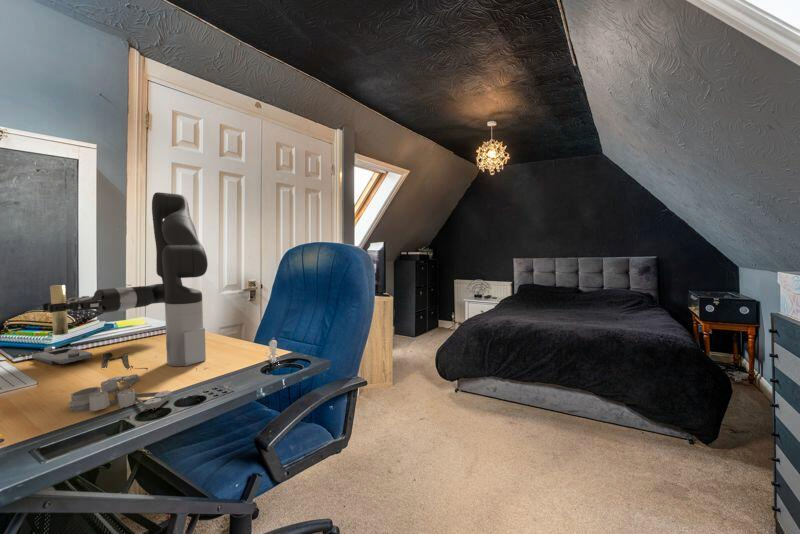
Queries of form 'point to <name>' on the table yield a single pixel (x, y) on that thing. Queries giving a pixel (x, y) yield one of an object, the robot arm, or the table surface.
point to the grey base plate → (61, 355)
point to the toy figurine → (272, 350)
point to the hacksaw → (125, 358)
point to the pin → (61, 316)
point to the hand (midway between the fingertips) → (46, 307)
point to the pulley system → (115, 396)
